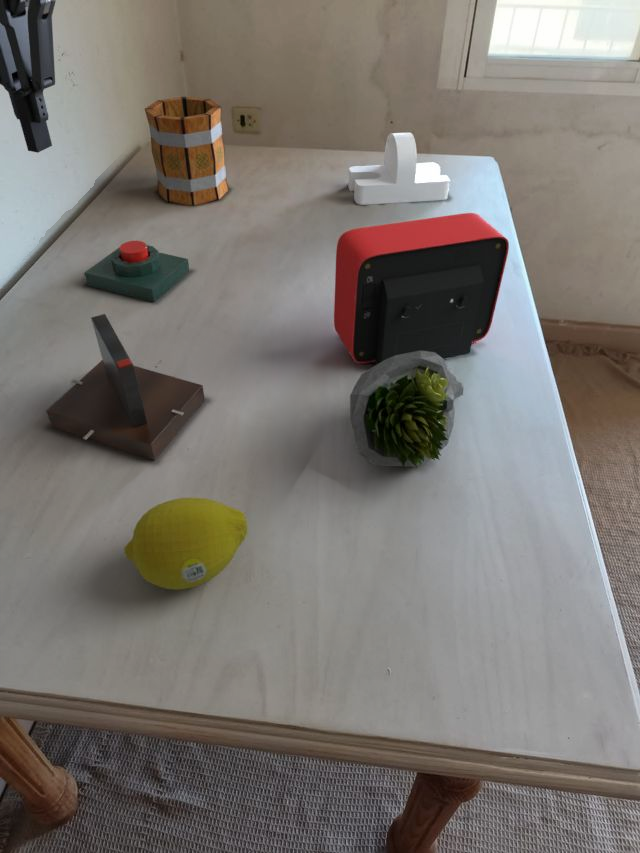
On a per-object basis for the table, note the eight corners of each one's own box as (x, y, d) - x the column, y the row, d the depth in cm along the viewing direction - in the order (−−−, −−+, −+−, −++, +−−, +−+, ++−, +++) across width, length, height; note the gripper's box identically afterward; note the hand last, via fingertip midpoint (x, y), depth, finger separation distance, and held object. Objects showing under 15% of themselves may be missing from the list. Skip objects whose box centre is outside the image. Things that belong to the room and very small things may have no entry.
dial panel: (35, 437, 71) (27, 419, 70) (115, 362, 82) (110, 345, 80) (148, 475, 67) (144, 458, 65) (218, 392, 78) (215, 375, 76)
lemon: (128, 610, 55) (109, 557, 50) (138, 539, 61) (121, 484, 56) (251, 600, 56) (246, 546, 51) (249, 530, 62) (244, 475, 57)
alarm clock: (495, 351, 85) (522, 242, 74) (356, 378, 80) (364, 266, 69) (461, 313, 91) (482, 208, 81) (332, 337, 87) (335, 229, 76)
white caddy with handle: (448, 199, 121) (457, 141, 113) (357, 205, 118) (360, 145, 111) (434, 180, 127) (441, 124, 120) (347, 184, 125) (349, 127, 118)
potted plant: (466, 384, 74) (516, 445, 61) (384, 452, 77) (414, 524, 64) (403, 312, 69) (442, 362, 56) (318, 388, 72) (335, 452, 59)
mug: (229, 203, 118) (222, 118, 108) (156, 207, 116) (141, 121, 106) (226, 164, 132) (220, 86, 122) (161, 167, 131) (149, 88, 120)
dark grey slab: (106, 373, 76) (90, 315, 70) (119, 369, 77) (104, 311, 71) (133, 427, 69) (118, 368, 63) (147, 423, 70) (133, 363, 64)
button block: (87, 285, 96) (80, 261, 93) (125, 256, 102) (121, 233, 100) (154, 302, 92) (149, 278, 90) (189, 271, 99) (186, 248, 96)
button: (116, 260, 94) (113, 249, 93) (131, 249, 97) (129, 238, 96) (138, 265, 93) (136, 255, 92) (153, 254, 96) (151, 243, 95)
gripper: (-106, -99, 61) (-24, 149, 78) (1, -90, 58) (64, 167, 74) (-48, -103, 67) (18, 131, 83) (54, -95, 63) (102, 146, 79)
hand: (40, 147), depth 78 cm, fingers closed
